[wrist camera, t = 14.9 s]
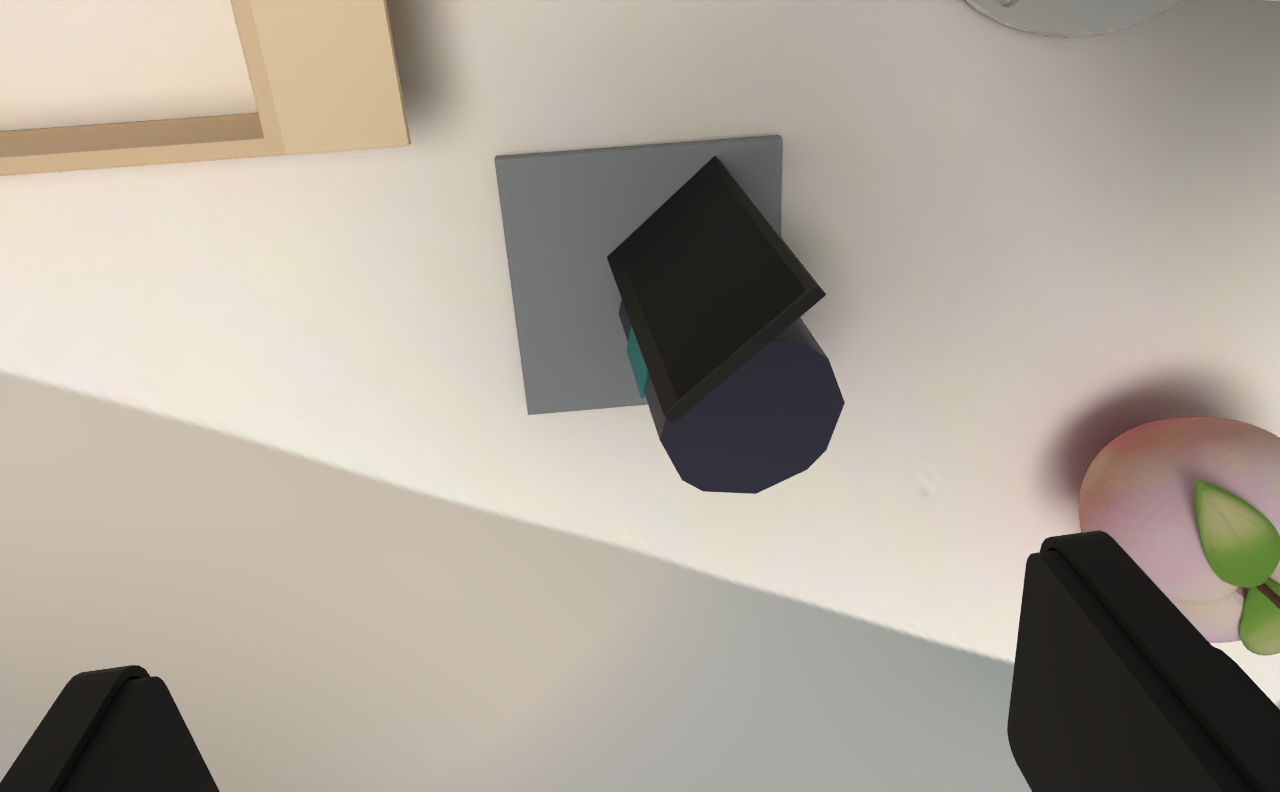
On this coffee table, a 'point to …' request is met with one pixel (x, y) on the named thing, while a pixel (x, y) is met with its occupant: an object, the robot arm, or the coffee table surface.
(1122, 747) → the robot arm
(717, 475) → the speaker
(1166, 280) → the coffee table surface
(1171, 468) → the decorative fruit
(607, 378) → the mat
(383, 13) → the carton
